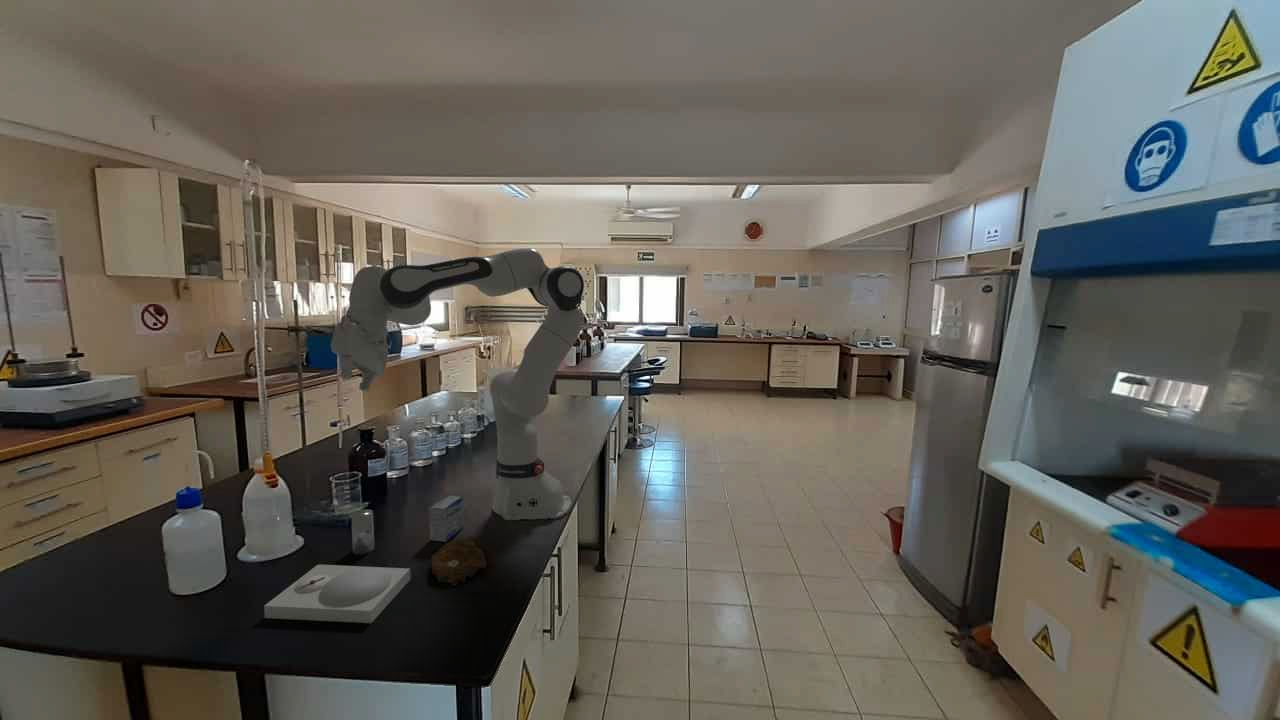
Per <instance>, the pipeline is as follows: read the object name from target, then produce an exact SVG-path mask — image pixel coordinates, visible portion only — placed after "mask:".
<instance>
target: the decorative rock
mask: <svg viewBox="0 0 1280 720" xmlns="http://www.w3.org/2000/svg"><path fill="white" fill-rule="evenodd" d="M486 564H487V560H486V557H485V554H484V552H483V551H482V550H481V548H479V547H477V546H476V544H475V542H474V540H473V539H467V540H461V539H459V540H458V539H457V540H453V541H447V543H445V544H444V545H443V546H441V548H440V549H439V550H438V551H437V552H435V553H433V554H432V556H431V570H432V571H431V572H432V574H433V575H435V576H436V579H437V582H439V583H440V582H443V583H450V584H451V586H456V585H458V583H459V582H463V583H465V582H466V578H467V577H469V579H471V578H472V577H475V576H476V575H475V573H476V572H478V571H479V570H480V569H486Z"/></svg>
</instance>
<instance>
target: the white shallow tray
mask: <svg viewBox="0 0 1280 720" xmlns="http://www.w3.org/2000/svg"><path fill="white" fill-rule="evenodd" d="M410 580H411V568H404V567H403V568H402V567H384V566H383V567H380V566H379V567H377V566H360V565H359V566H358V565H356V566H355V565H339V564H337V565H336V564H317V565H316V566H314V567H313V568H311V569H310V570H308V571H307V572H306V573H305V574H304V575H302V576H301V577H300V578H299V579H298V580H296V581H295V582H293V583H292V584H291V585H289V586H288V587H287V588H285V589H284V590H283V591H282V592H280V593H279V594H278V595H276V596H275V597H273V599H271V600H269V601H268V602H267V603H266V604H265V605H263V608H264V610H263V611H264V612H263V613H264V619H278V620H279V619H281V620H301V621H317V622H319V621H320V622H341V623H362V624H372V623H374V621H375V620H376V618H377V617H379V615H380V614H381V613H382V612H383V611H384V609H386V608H387V606H388V605H389V604H390V603H391V602H392V600H394V599H395V598H396V596H398V594H399V593H400V592H401V591H402V590H403V588H405V586H406V585H407V584H408V582H409V581H410Z"/></svg>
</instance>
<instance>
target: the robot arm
mask: <svg viewBox="0 0 1280 720" xmlns="http://www.w3.org/2000/svg"><path fill="white" fill-rule="evenodd" d="M463 285H469V286H470V285H471V286H473V287H476V289H477V290H479V292H481V293H482V294H483V295H485V296H488V297H491V298H493V297H494V298H495V297H499V296H500V297H501V296H502V297H503V296H505V295H509V294H511V293H514V292H517V291H521V290H524V289H527V290H528V291H529V292H530V294H531V296H532V298H533V299H534V300H535V301H536V302H537V303H538V304H539V305H542V306H544V307H548V311H547V315H546V317H545V319H544V320H543V322H542V323H541V324H540V326H539V328H538V329H537V330H536V331H535V334H533V336H532V338H531V339H530V340H529V342H528V343H527V344H526V346H525V348H524V350H523V355H522V360H521V362H520V365H519V367H518V369H517V371H504V372H501V373H498V374H497V375H495V376H494V377H493V378H492V380H491V382H490V385H489V393H490V396H491V401H492V407H493V415H494V419H495V424H496V425H495V426H496V434H497V459H496V462H495V463H496V465H495V476H496V490H495V496H494V501H493V503H492V505H491V506H492V507H491V509H492V511H493V512H494V513H495V514H497V515H499V516H501V517H502V518H503V520H505V521H523V520H522V519H524V520H525V519H528V520H549V519H548V518H550V519H560V518H562V517H564V516H565V515H566V514H567V513H569V511H570V510H571V507H572V499H571V498H570V496H569V495H565V494H564V488H563V485H562V483H561V482H560V480H558V479H556V478H555V477H554V476H553V475H551V474H549V473H548V472H547V471H545V463H546V462H545V460H546V459H543V460H542V459H540V458H539V457H538V430H537V428H536V425H535V422H534V417H537V416H540V415H541V414H542V413H543V412H544V411H545V410H546V408H547V407H548V404H549V399H550V398H549V392H550V389H551V386H552V383H553V380H554V378H555V376H556V373H557V371H558V370H559V368H560V366H561V364H562V363H563V361H564V360H565V358H566V356H567V355H568V354H569V352H570V350H571V349H572V348H573V346H574V344H575V343H576V342H577V339H578V337H579V335H580V333H581V331H582V329H583V327H584V324H585V317H584V314H583V312H582V311H581V310H580V309H579V307H580V306H581V304H582V298H583V293H584V289H585V282H584V278H583V276H582V274H581V273H580V272H579V271H578V270H577V269H575V268H573V267H570V266H563V265H562V266H561V265H560V266H558V267H552V268H550V267H549V266H547V265H546V263H545V261H544V258H543V256H542V255H541V254H540V252H538V251H537V250H536V249H534V248H518V249H512V250H507V251H503V252H499V253H496V254H492V255H487V256H483V257H482V256H468V257H463V258H462V257H461V258H457V259H453V260H452V259H451V260H447V261H442V262H436V263H431V264H425V265H424V264H423V265H417V264H415V265H414V264H400V265H396V266H393V267H390V268H389V269H387V268H386V267H383V266H378V265H372V266H365V267H362V268H361V269H359V270H358V272H357V273H356V274H355V276H354V278H353V280H352V285H351V287H350V292H349V295H348V296H349V297H348V301H349V306H348V309H347V310H346V313H345V314H344V315H342V316H341V319H340V322H338V323H337V324H336V325H335V329H334V331H333V334H332V337H331V342H330V350H331V352H332V353H333V354H335V355H336V356H337V357H338V358H339V361H338V362H339V367H340V374H339V377H340V378H341V379H343V380H351V379H352V377H353V376H352V375H353V371H352V367H353V368H354V369H356V370H357V371H359V372H361V373H362V378H363V379H362V381H361V382H359V388H358V389H359V390H361V391H362V392H369V391H370V389H371V384H372V383H373V381H375V380H374V379H375V378H376V379H379V378H380V379H381V378H382V377H383V376H384V374H385V373H386V368H387V364H388V359H389V349H391V348H392V340H391V338H390V334H389V330H388V327H387V325H388V321H389V322H392V323H393V322H394V323H397V324H401V325H406V326H417V325H420V324H422V323H424V322H426V321H427V320H428V319H429V317H430V314H431V312H432V306H431V305H432V304H431V299H430V296H431V295H432V294H433V293H434V292H438V291H440V290H445V289H446V290H447V289H450V288H454V287H457V286H463ZM565 513H566V514H565ZM564 514H565V515H564ZM563 515H564V516H563ZM561 516H562V517H561ZM559 517H560V518H559ZM520 519H521V520H520Z"/></svg>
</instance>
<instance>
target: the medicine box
mask: <svg viewBox="0 0 1280 720" xmlns="http://www.w3.org/2000/svg"><path fill="white" fill-rule="evenodd" d="M463 505H464V504H463V497H462V496H456V495H447V496H445V497H444V498H443V499H441V500H439V501H437V502H436V503H435V504H433V505H431V506H430V507H429V508H428V514H429V515H428V516H429V517H428V519H429V540H430V541H434V542H441V543H442V542H444V543H446V542H449V540H450V539H451V538H452V537H454V536H455V535H456V534H457V533H459V532H460V531H461V530H462V529H463V528H464V513H463V512H464V511H463V507H464V506H463Z"/></svg>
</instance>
